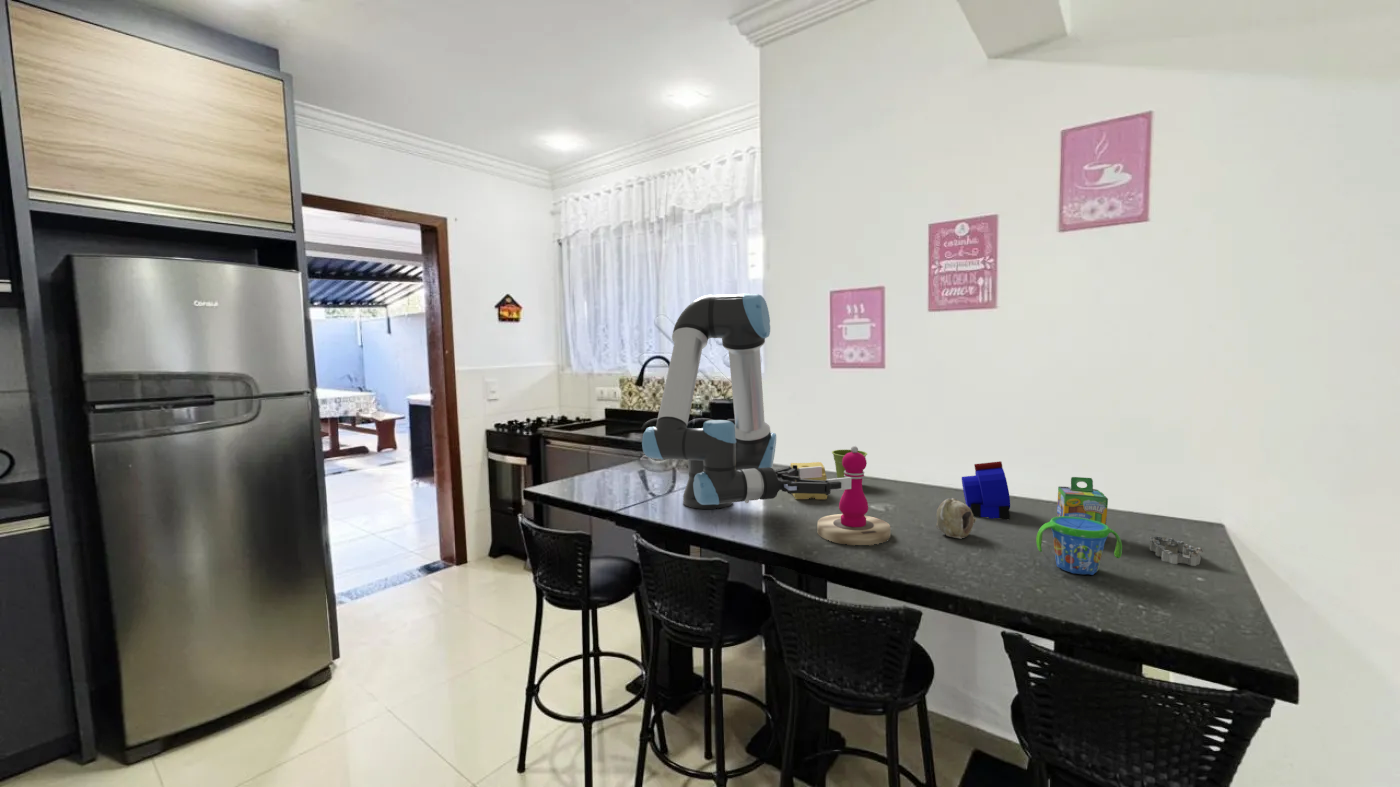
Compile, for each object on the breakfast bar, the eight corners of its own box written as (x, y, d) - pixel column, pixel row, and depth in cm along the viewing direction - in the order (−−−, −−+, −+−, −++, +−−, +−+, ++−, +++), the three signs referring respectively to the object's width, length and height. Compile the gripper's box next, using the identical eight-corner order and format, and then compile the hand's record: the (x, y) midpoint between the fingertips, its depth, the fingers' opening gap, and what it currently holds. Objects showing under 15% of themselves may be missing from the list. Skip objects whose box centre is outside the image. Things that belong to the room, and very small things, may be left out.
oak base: (804, 526, 156) (805, 517, 156) (864, 520, 161) (864, 511, 161) (840, 549, 139) (840, 538, 139) (905, 541, 144) (905, 530, 144)
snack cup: (1113, 565, 127) (1115, 519, 127) (1128, 584, 118) (1131, 534, 117) (1031, 556, 133) (1033, 512, 132) (1039, 573, 123) (1041, 526, 123)
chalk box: (1062, 540, 144) (1064, 480, 143) (1055, 529, 152) (1057, 473, 151) (1106, 544, 141) (1109, 483, 139) (1096, 533, 149) (1099, 475, 148)
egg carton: (1203, 568, 126) (1205, 550, 126) (1160, 564, 129) (1162, 545, 129) (1185, 552, 136) (1186, 534, 135) (1146, 547, 139) (1147, 531, 138)
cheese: (827, 499, 183) (828, 468, 182) (793, 500, 183) (793, 468, 182) (821, 491, 193) (821, 461, 193) (788, 491, 194) (788, 461, 193)
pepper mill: (869, 528, 146) (870, 449, 144) (839, 527, 147) (840, 448, 145) (866, 520, 153) (868, 444, 151) (838, 518, 154) (839, 443, 152)
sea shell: (941, 546, 147) (929, 510, 146) (940, 531, 155) (928, 496, 153) (981, 540, 143) (969, 503, 142) (978, 524, 151) (966, 489, 150)
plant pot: (832, 488, 197) (832, 455, 196) (830, 480, 209) (830, 449, 208) (868, 489, 195) (869, 456, 194) (864, 481, 207) (865, 449, 206)
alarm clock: (1012, 520, 161) (1014, 466, 159) (963, 516, 165) (964, 463, 163) (1004, 508, 172) (1006, 457, 171) (959, 505, 176) (960, 455, 175)
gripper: (737, 487, 153) (810, 481, 160) (781, 513, 129) (864, 504, 136) (737, 459, 152) (810, 453, 159) (781, 479, 129) (864, 472, 135)
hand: (835, 477), depth 147 cm, fingers open, 13 cm apart
